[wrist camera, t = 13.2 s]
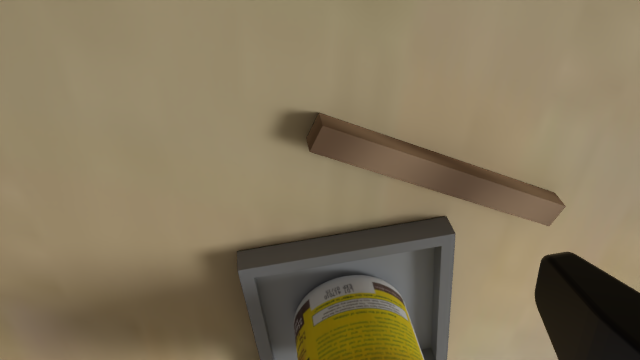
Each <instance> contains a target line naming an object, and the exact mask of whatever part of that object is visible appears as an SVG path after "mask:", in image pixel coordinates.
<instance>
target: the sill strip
mask: <svg viewBox="0 0 640 360" xmlns="http://www.w3.org/2000/svg"><path fill="white" fill-rule="evenodd" d="M306 139H307V143H308V147H309V151H310V152H312V153H315V154H318V155H322V156H325V157H328V158H331V159H335V160H338V161H341V162H344V163H347V164H351V165H354V166H357V167H360V168H363V169H367V170H370V171H373V172H376V173H380V174H383V175H386V176H389V177H392V178H396V179H399V180H402V181H405V182H408V183H412V184H415V185H418V186H421V187H425V188H428V189H431V190H434V191H437V192H441V193H444V194H447V195H450V196H454V197H457V198H460V199H463V200H466V201H470V202H473V203H476V204H479V205H482V206H486V207H489V208H492V209H495V210H499V211H502V212H505V213H508V214H511V215H515V216H518V217H521V218H524V219H528V220H531V221H534V222H537V223H540V224H544V225H547V226H550V225H551V224H552V222H553V221H554V220H555V219H556V218H557V216H558V215H559V214H560V213H561V212H562V210H563V209H564V208H565V207H566V206H565V205H564V204H563V202H562V201H561V200H560V199H559V197H558V196H557V195H556V194H555V193H553V192H550V191H547V190H545V189H542V188H539V187H536V186H533V185H530V184H527V183H524V182H521V181H518V180H515V179H512V178H509V177H506V176H503V175H500V174H497V173H495V172H492V171H489V170H486V169H483V168H480V167H477V166H474V165H471V164H468V163H465V162H462V161H459V160H456V159H453V158H450V157H447V156H445V155H442V154H439V153H436V152H433V151H430V150H427V149H424V148H421V147H418V146H415V145H412V144H409V143H406V142H403V141H400V140H397V139H395V138H392V137H389V136H386V135H383V134H380V133H377V132H374V131H371V130H368V129H365V128H362V127H359V126H356V125H353V124H350V123H347V122H345V121H342V120H339V119H336V118H333V117H330V116H327V115H324V114H321V113H319V114H318V116H317V118H316V120H315V122H314V124H313V126H312V128H311V130H310V132H309V134H308V136H307V138H306Z"/></svg>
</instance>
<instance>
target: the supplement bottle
mask: <svg viewBox="0 0 640 360" xmlns="http://www.w3.org/2000/svg"><path fill="white" fill-rule="evenodd" d="M294 333H295V343H296V350H297V358H298V360H424V357H423V354H422V351H421V349H420V346H419V343H418V340H417V337H416V334H415V331H414V329H413V326H412V323H411V320H410V317H409V314H408V311H407V309H406V306H405V303H404V301H403V298H402V297H401V295H400V294H399V292H398V291H397V290H396V289H395V288H394V287H393V286H392V285H390V284H389V283H387V282H385V281H384V280H381V279H379V278H376V277H372V276H366V275H350V276H343V277H339V278H335V279H332V280H330V281H327V282H325V283H323V284H321V285H319V286H318V287H316V288H315V289H313V290H312V291H311V292H309V293H308V294H307V295H306V296H305V297H304V299H303V300H302V301H301V303H300V304H299V306H298V308H297V310H296V313H295V317H294Z"/></svg>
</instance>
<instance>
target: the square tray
mask: <svg viewBox="0 0 640 360" xmlns="http://www.w3.org/2000/svg"><path fill="white" fill-rule="evenodd" d="M454 248H455V232H454V230H453V228H452V226H451V224H450V222H449V220H448V218H447V217H441V218H435V219H429V220H423V221H417V222H411V223H405V224H399V225H393V226H387V227H381V228H375V229H369V230H363V231H357V232H351V233H345V234H339V235H333V236H327V237H321V238H316V239H310V240H304V241H298V242H292V243H286V244H280V245H274V246H268V247H262V248H256V249H250V250H244V251H238V252H237V266H238V274H239V278H240V282H241V286H242V290H243V294H244V298H245V301H246V305H247V309H248V313H249V317H250V321H251V325H252V329H253V333H254V337H255V341H256V345H257V348H258V352H259V356H260V360H298V358H297V350H296V343H295V333H294V317H295V313H296V310H297V308H298V306H299V304H300V303H301V301H302V300H303V299H304V297H305V296H306V295H307V294H308V293H309V292H311V291H312V290H313V289H315V288H316V287H318V286H319V285H321V284H323V283H325V282H327V281H330V280H332V279H335V278H339V277H343V276H350V275H366V276H372V277H376V278H379V279H381V280H384V281H385V282H387V283H389V284H390V285H392V286H393V287H394V288H395V289H396V290H397V291H398V292H399V294H400V295H401V297H402V298H403V301H404V303H405V306H406V309H407V311H408V314H409V317H410V320H411V323H412V326H413V329H414V331H415V334H416V337H417V340H418V343H419V346H420V349H421V351H422V354H423V357H424V360H447V352H448V337H449V322H450V307H451V292H452V278H453V263H454Z"/></svg>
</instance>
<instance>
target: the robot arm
mask: <svg viewBox="0 0 640 360" xmlns="http://www.w3.org/2000/svg"><path fill="white" fill-rule="evenodd" d="M535 301H536V305H537V308H538V311H539V313H540V316H541V318H542V320H543V323H544V325H545V328H546V330H547V333H548V335H549V338H550V340H551V342H552V345H553V347H554V350H555V352H556V355H557V357H558V360H640V293H639V292H638V291H636V290H634V289H633V288H631V287H629V286H628V285H626V284H624V283H623V282H621V281H619V280H618V279H616V278H614V277H613V276H611V275H609V274H608V273H606V272H604V271H603V270H601V269H599V268H598V267H596V266H594V265H593V264H591V263H589V262H588V261H586V260H584V259H583V258H581V257H579V256H577V255H576V254H574V253H571V252H562V253H556V254H550V255H546V256H544V257H543V259H542V260H541V263H540V268H539V273H538V278H537V283H536V288H535Z"/></svg>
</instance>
